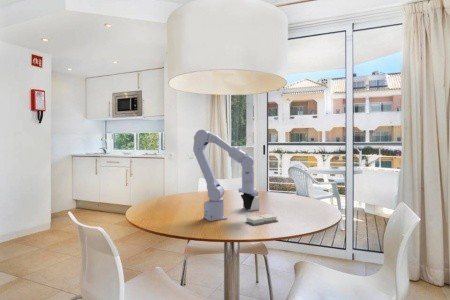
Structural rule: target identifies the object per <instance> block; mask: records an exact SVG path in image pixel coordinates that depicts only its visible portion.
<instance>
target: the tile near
mask: <svg viewBox="0 0 450 300" xmlns="http://www.w3.org/2000/svg"><path fill="white" fill-rule="evenodd" d="M245 219H246V221H245V222H247V221H248V222H250V223H253V224H256V223H262V222H265V220H264V218H262V217H259V215H253V216H248V217H247V216H246V218H245Z"/></svg>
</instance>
